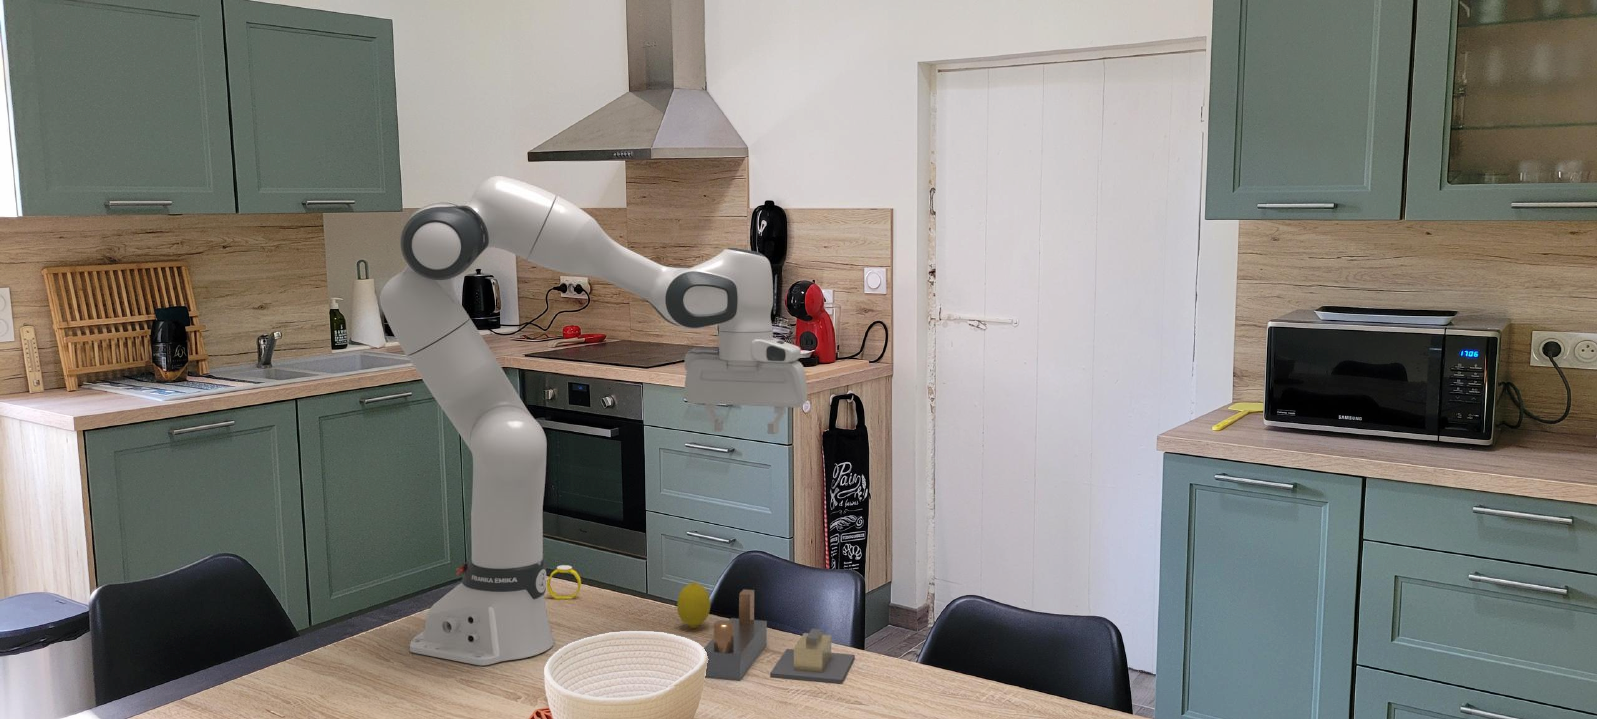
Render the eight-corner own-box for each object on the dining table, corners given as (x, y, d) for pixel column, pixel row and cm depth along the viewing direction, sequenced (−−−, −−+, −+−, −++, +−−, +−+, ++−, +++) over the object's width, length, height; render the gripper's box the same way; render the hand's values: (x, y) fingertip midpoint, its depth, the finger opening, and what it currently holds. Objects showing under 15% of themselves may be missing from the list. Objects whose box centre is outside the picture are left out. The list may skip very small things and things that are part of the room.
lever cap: (793, 670, 176) (794, 641, 175) (803, 654, 183) (804, 626, 182) (822, 672, 175) (822, 643, 174) (831, 656, 182) (831, 628, 181)
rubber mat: (770, 676, 175) (770, 672, 175) (786, 652, 185) (786, 648, 185) (841, 683, 172) (842, 679, 172) (854, 658, 183) (854, 654, 183)
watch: (580, 597, 214) (583, 566, 213) (578, 602, 211) (580, 570, 210) (548, 595, 214) (550, 563, 213) (545, 599, 211) (547, 567, 210)
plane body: (701, 676, 174) (701, 618, 173) (730, 641, 190) (731, 588, 189) (740, 680, 173) (740, 621, 172) (766, 644, 189) (767, 590, 188)
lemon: (704, 634, 193) (705, 587, 192) (672, 632, 194) (673, 585, 194) (713, 624, 199) (714, 578, 198) (682, 621, 200) (682, 576, 199)
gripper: (678, 348, 188) (678, 432, 189) (801, 351, 184) (800, 438, 185) (690, 345, 194) (690, 426, 196) (810, 348, 190) (809, 432, 191)
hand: (745, 432), depth 190 cm, fingers open, 8 cm apart
